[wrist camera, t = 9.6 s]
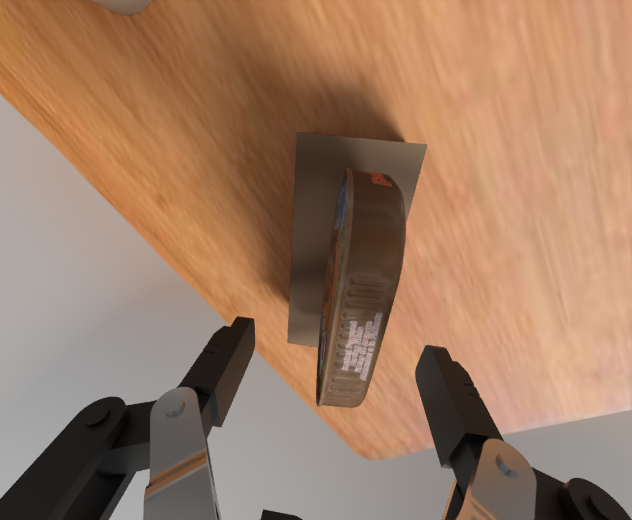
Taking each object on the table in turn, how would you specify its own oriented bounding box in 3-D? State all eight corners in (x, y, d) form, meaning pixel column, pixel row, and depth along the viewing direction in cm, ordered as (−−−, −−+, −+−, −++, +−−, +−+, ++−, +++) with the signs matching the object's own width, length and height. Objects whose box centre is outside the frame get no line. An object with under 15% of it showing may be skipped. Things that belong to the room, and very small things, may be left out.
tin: (341, 161, 15) (337, 177, 8) (390, 166, 15) (435, 189, 8) (317, 335, 22) (303, 434, 14) (351, 340, 22) (354, 443, 14)
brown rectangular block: (308, 134, 19) (297, 132, 15) (407, 144, 19) (427, 144, 14) (296, 310, 27) (287, 342, 23) (366, 320, 27) (370, 355, 22)
